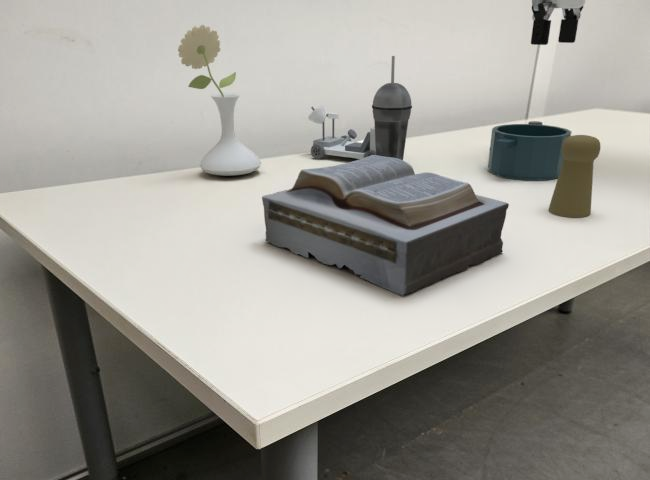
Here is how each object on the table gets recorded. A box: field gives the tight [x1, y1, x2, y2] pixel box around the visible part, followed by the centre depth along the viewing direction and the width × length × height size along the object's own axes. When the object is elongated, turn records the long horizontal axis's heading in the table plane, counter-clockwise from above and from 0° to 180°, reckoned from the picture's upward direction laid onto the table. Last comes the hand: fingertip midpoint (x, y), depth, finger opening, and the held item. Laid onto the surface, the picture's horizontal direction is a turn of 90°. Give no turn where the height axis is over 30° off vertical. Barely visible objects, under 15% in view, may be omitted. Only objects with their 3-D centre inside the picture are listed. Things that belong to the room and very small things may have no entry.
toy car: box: [307, 105, 376, 160], centre depth 124 cm, size 18×10×12 cm
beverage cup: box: [371, 55, 413, 161], centre depth 110 cm, size 7×7×20 cm
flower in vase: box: [177, 24, 262, 177], centre depth 108 cm, size 13×11×25 cm
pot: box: [487, 123, 573, 182], centre depth 112 cm, size 14×19×8 cm
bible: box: [261, 155, 510, 298], centre depth 76 cm, size 23×27×10 cm
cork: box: [547, 134, 601, 218], centre depth 89 cm, size 6×6×11 cm
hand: (553, 43), depth 114 cm, fingers open, 9 cm apart
